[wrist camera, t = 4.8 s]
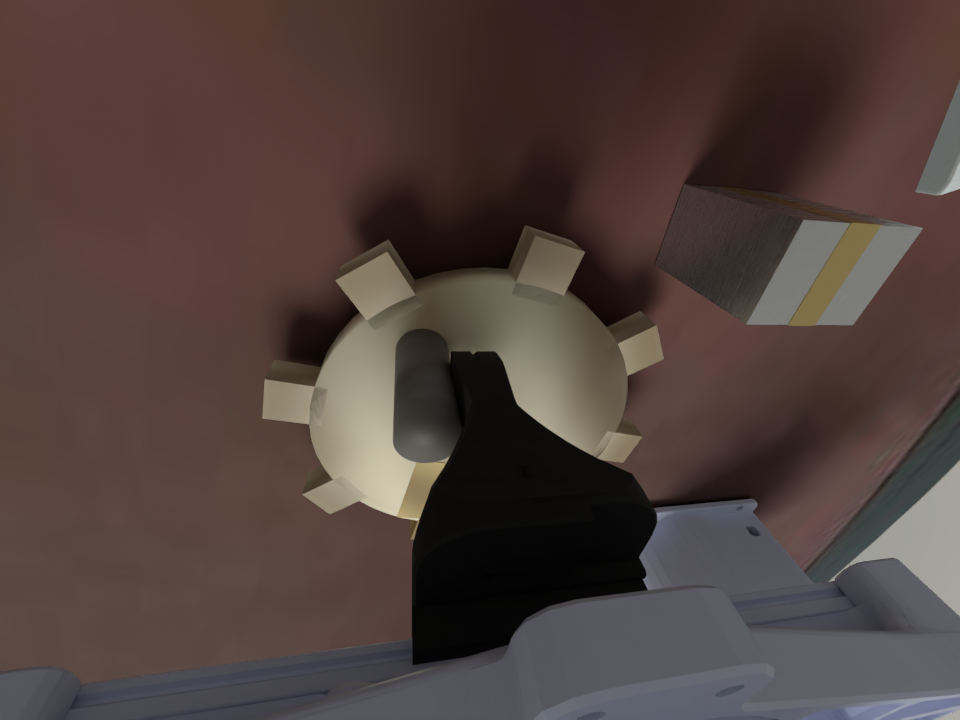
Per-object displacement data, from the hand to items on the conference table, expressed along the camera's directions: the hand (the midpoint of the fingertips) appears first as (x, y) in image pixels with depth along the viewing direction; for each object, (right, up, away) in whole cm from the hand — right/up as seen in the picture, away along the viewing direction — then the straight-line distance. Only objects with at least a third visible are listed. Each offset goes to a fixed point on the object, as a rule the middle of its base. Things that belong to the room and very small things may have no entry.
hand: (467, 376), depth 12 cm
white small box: (+10, +6, +2) cm, 11 cm away
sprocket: (0, -1, +5) cm, 5 cm away
